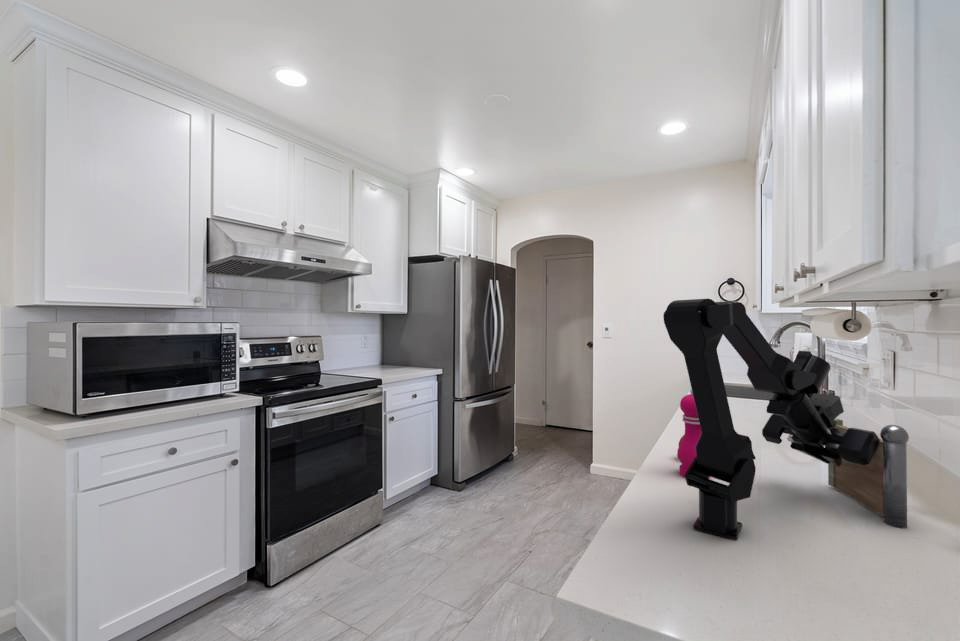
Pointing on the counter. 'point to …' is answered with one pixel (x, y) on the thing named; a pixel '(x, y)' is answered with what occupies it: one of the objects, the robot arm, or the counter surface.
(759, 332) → the robot arm
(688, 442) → the pepper mill
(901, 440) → the gate post
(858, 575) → the counter surface
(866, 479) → the gate
